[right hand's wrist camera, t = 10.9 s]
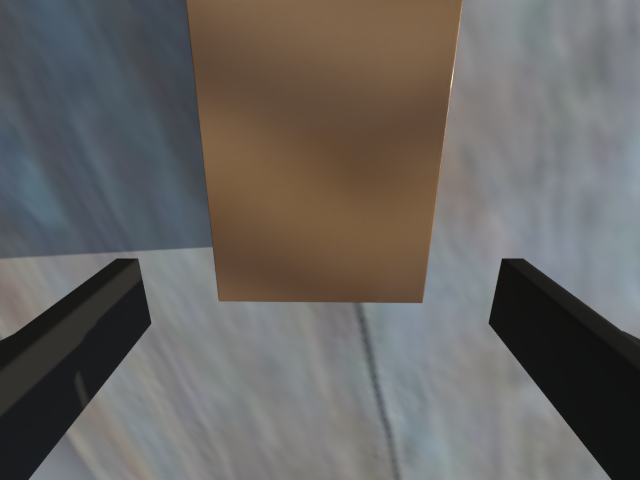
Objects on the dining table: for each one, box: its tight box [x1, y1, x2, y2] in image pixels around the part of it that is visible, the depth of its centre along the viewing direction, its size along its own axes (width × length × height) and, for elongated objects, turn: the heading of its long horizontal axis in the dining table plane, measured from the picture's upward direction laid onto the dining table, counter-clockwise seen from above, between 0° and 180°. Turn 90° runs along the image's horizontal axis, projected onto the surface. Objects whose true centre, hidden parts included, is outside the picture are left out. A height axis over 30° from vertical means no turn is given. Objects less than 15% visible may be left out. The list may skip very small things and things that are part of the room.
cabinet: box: [186, 0, 463, 303], centre depth 19 cm, size 20×11×10 cm, turn 179°
